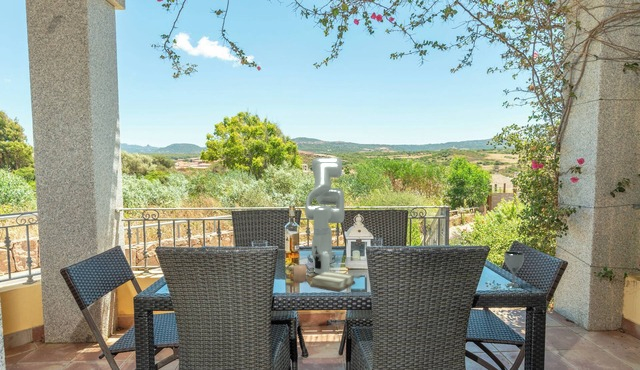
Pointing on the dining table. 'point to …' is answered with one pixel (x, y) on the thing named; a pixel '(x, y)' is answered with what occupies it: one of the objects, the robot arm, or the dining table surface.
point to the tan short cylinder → (300, 273)
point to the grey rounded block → (323, 263)
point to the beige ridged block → (333, 281)
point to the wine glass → (514, 263)
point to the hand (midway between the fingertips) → (321, 266)
